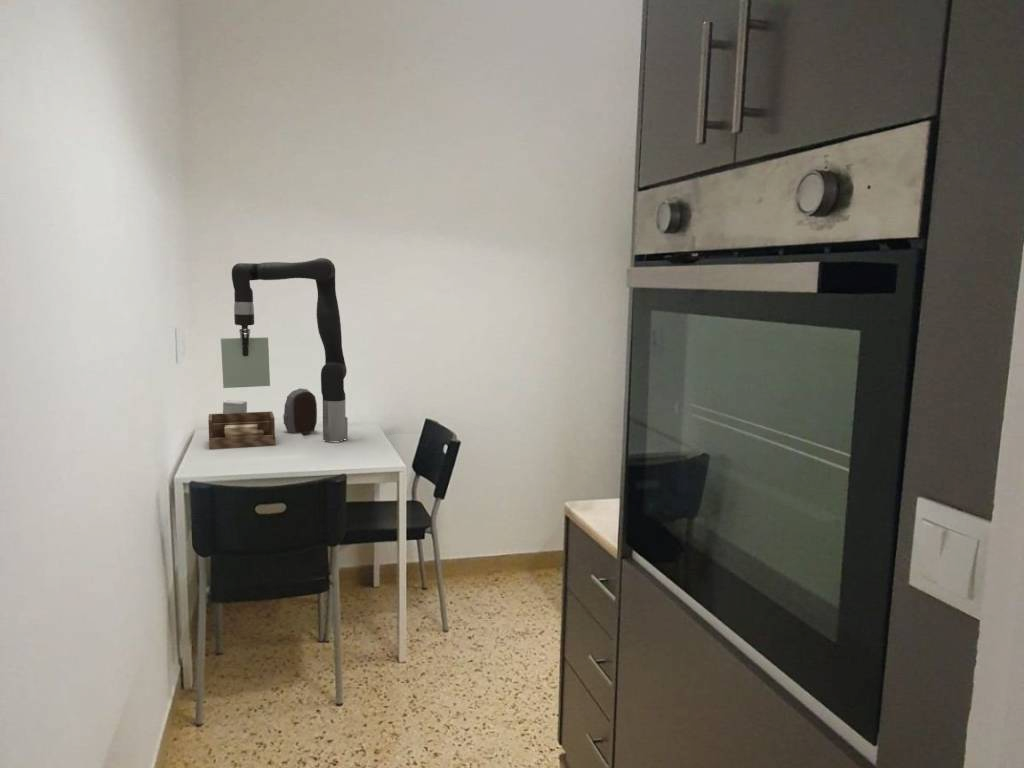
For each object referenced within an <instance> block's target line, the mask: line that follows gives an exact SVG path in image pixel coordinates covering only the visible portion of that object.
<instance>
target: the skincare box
mask: <svg viewBox="0 0 1024 768" xmlns="http://www.w3.org/2000/svg"><path fill="white" fill-rule="evenodd" d="M247 409H248V402H247V401H244V400H243V401H242V400H226V401H223V402H222V413H246V412H248V410H247Z"/></svg>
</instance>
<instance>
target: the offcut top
mask: <svg viewBox="0 0 1024 768" xmlns="http://www.w3.org/2000/svg"><path fill="white" fill-rule="evenodd" d="M224 430H225V434H246V433H257V432H258V429H257V424H248V425H225V428H224Z"/></svg>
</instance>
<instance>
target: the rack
mask: <svg viewBox="0 0 1024 768" xmlns="http://www.w3.org/2000/svg"><path fill="white" fill-rule="evenodd" d="M207 420H208V421H207V422H208V445H209V447H208V448H209V450H221V449H222V450H223V449H225V450H226V449H239V448H242V449H243V448H256V447H257V448H258V447H273V446H275V447H276V428H275V427H276V426H275V425H276V424H275V416H274V412H273V411H270V410H269V411H252V412H251V411H250V412H248V411H247V412H246V413H223V412H221V413H208V419H207ZM248 424H257V429H258V430H263V432H264V435H263V436H245V437H226V438H225V430H224V428H225V425H248Z"/></svg>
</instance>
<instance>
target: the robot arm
mask: <svg viewBox="0 0 1024 768" xmlns="http://www.w3.org/2000/svg"><path fill="white" fill-rule="evenodd" d="M289 279H307V280H308V279H310V280H315V285H316V289H317V290H316V291H317V300H316V301H317V302H316V321H317V322H316V323H317V331H318V334H319V337H320V340H321V344H322V345H323V350H324V357H325V359H324V360H325V361H324V363H325V364H324V365H323V366H322V367H321V370H320V390H321V391H320V392H321V395H322V441H323V440H325V441H324V442H326V441H341V440H344V439H348V432H349V431H348V429H349V428H348V421H349V419H348V417H347V416H346V413H347V412H346V392H345V387H344V385H345V384H344V381H345V380H344V379H345V377H346V376H347V365H346V361H345V356H344V352H343V338H342V324H341V323H342V322H341V315H340V309H339V303H338V298H337V292H336V267H335V264H334V263H333V262H332V260H330V259H328V258H324V257H320V258H319V257H318V258H316V259H312V260H307V261H300V262H298V261H297V262H280V261H278V262H277V261H276V262H275V261H273V262H272V261H271V262H260V263H258V262H257V263H251V262H250V263H248V262H247V263H245V262H244V263H243V262H242V263H241V262H239V263H236V264H234V265H233V267H232V268H231V281H232V286H233V290H234V304H233V306H234V308H233V313H234V317H233V318H234V325H236V326H241V329H239V338H241V341H242V349H243V356H248V347H249V340H250V338H251V337H250V334H251V329H250V328H249V326H253V325H255V306H254V295H253V294H254V292H253V289H252V288H251V281H258V280H259V281H260V280H262V281H277V280H278V281H279V280H280V281H281V280H289ZM244 341H247V343H243V342H244ZM341 442H342V441H341Z"/></svg>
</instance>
